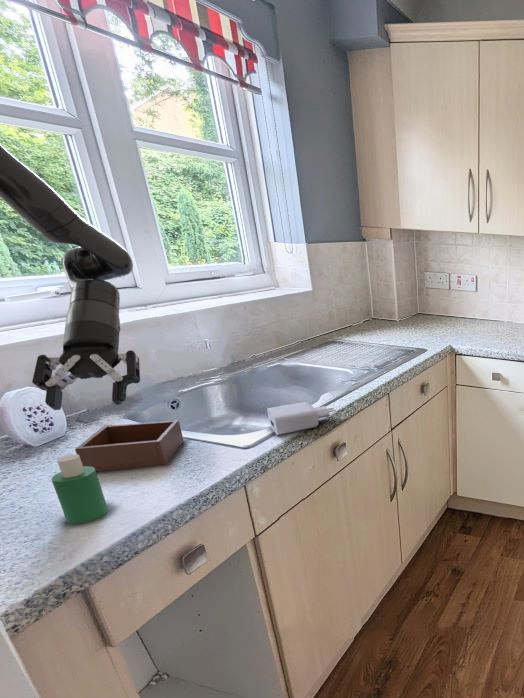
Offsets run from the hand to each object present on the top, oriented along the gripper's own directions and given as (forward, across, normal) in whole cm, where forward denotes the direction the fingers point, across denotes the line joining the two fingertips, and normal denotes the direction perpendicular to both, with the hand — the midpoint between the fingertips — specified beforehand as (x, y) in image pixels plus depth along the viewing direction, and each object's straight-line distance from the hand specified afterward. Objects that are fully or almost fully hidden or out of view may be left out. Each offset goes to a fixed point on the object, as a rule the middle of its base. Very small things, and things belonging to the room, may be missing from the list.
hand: (86, 405), depth 81 cm
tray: (+3, +1, +20) cm, 20 cm away
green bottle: (+19, 0, +4) cm, 19 cm away
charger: (-2, +34, +25) cm, 42 cm away
